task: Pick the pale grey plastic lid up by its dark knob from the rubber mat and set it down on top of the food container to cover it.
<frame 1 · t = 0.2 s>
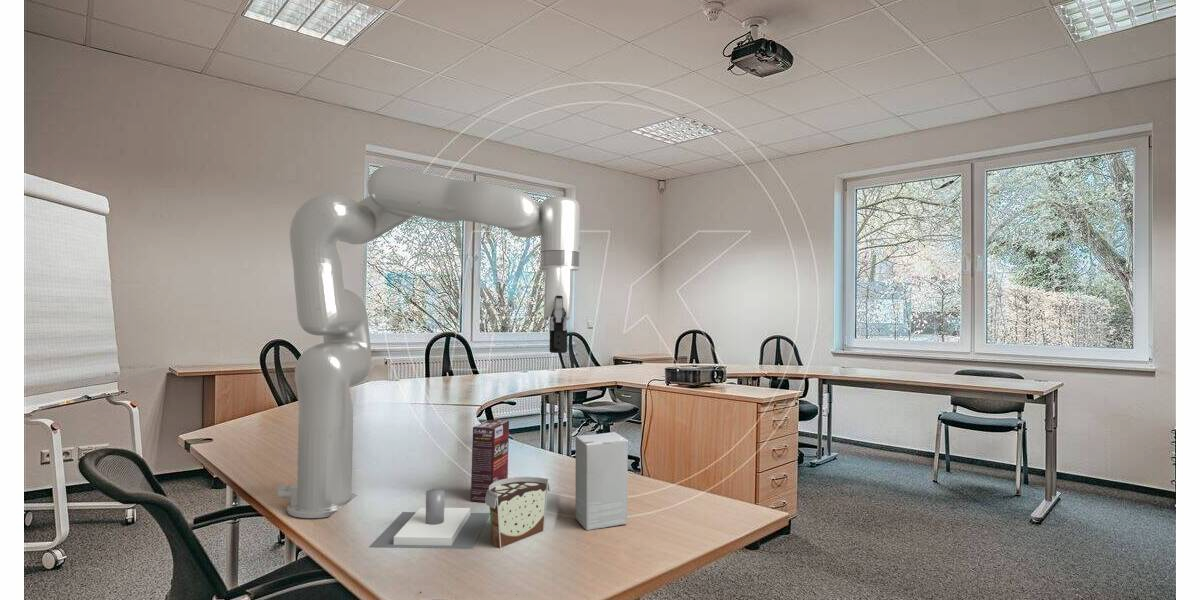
hand: (558, 350, 114), 31 cm above the table, tool pointing down, fingers open, 9 cm apart
mat: (434, 537, 99), on the table
food container: (509, 544, 97), on the table
lid: (434, 528, 99), point 1 cm above the table, touching mat
skincare box: (600, 524, 107), on the table
supplement box: (489, 504, 117), on the table
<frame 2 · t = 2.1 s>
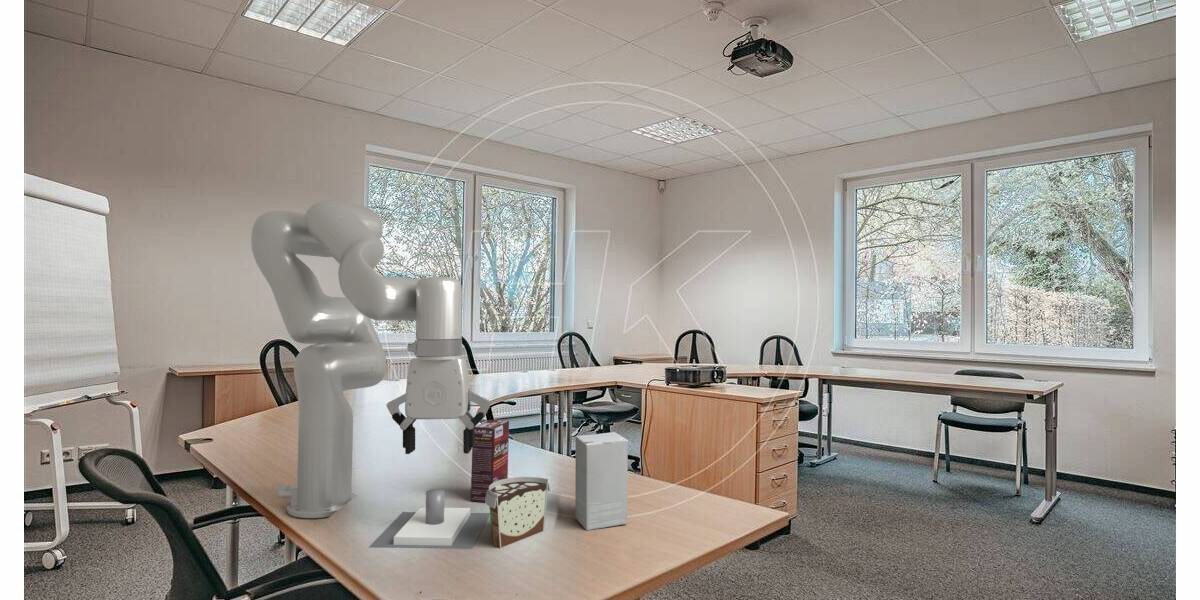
hand: (439, 452, 99), 14 cm above the table, tool pointing down, fingers open, 9 cm apart
nothing on the table moved.
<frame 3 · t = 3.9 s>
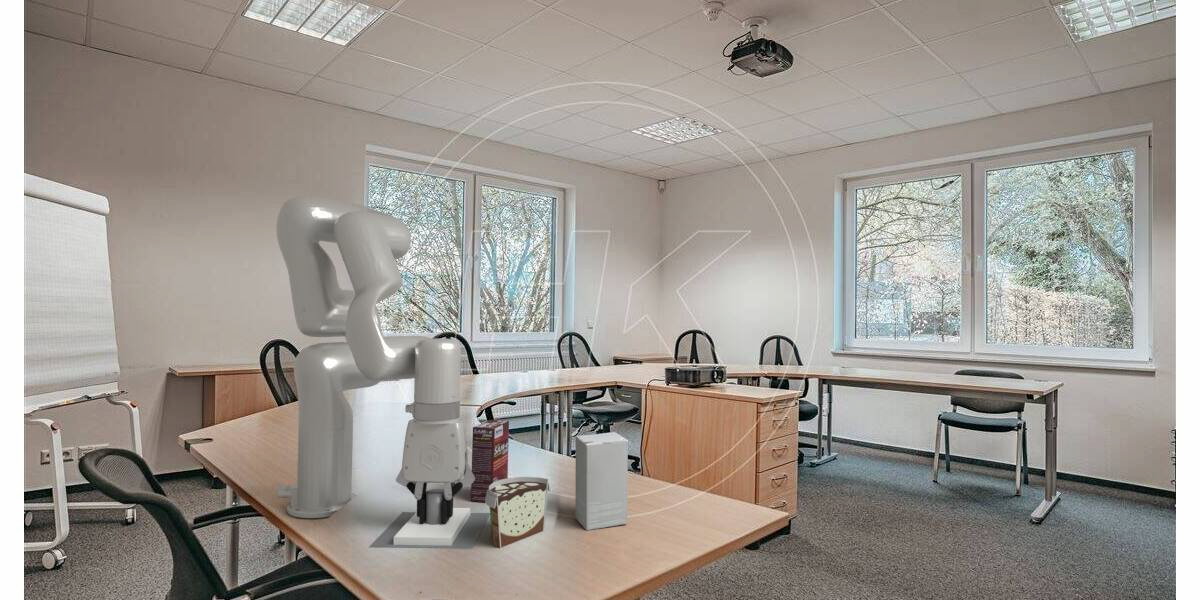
hand: (434, 520, 99), 3 cm above the table, tool pointing down, fingers closed on lid, 3 cm apart
lid: (434, 528, 99), point 1 cm above the table, touching gripper, mat
everything else where it was.
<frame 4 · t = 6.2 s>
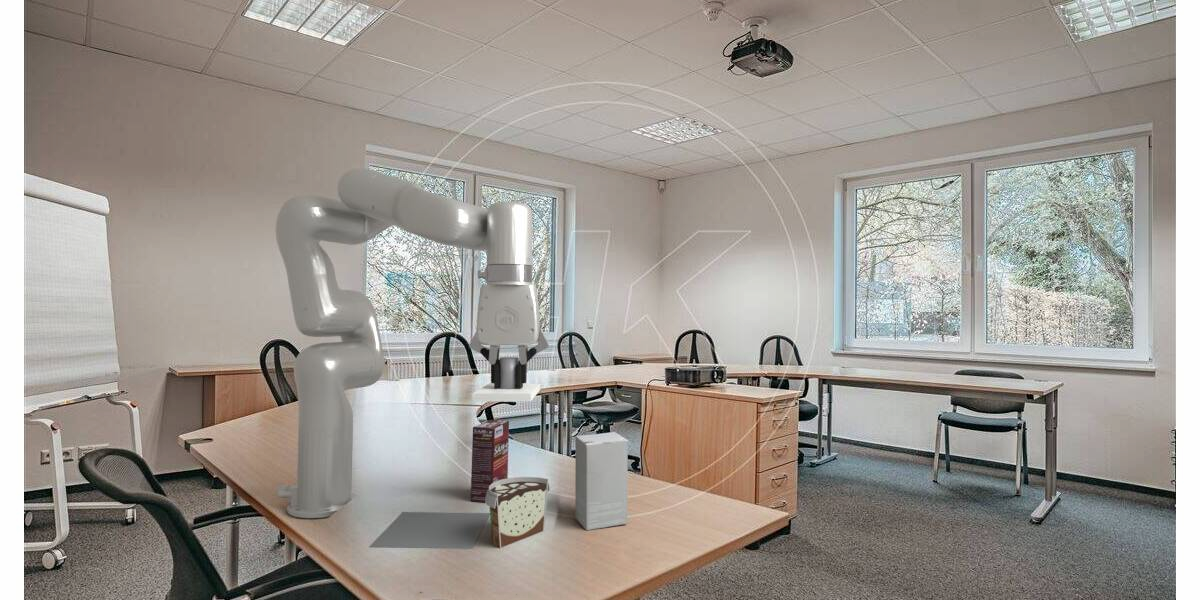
hand: (508, 386, 98), 26 cm above the table, tool pointing down, fingers closed on lid, 3 cm apart
lid: (508, 395, 98), point 24 cm above the table, touching gripper
everything else where it was.
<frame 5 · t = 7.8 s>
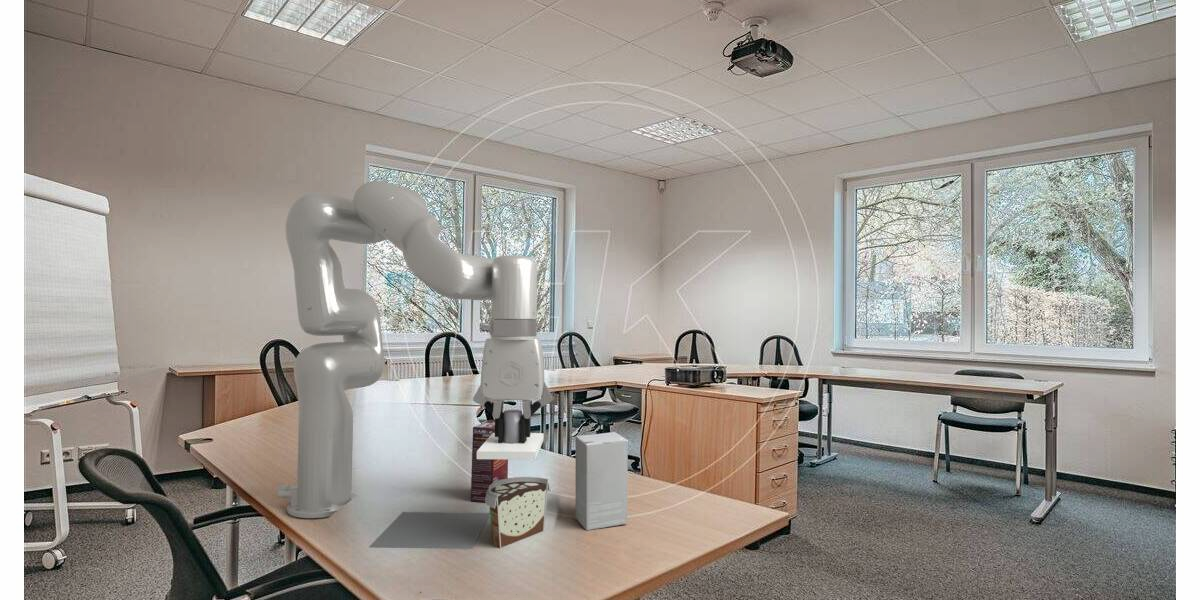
hand: (512, 440, 98), 17 cm above the table, tool pointing down, fingers closed on lid, 3 cm apart
lid: (512, 448, 97), point 16 cm above the table, touching gripper
everything else where it was.
when the fingers open (13 cm above the table, at t = 8.8 s): lid drops 1 cm, resting on food container.
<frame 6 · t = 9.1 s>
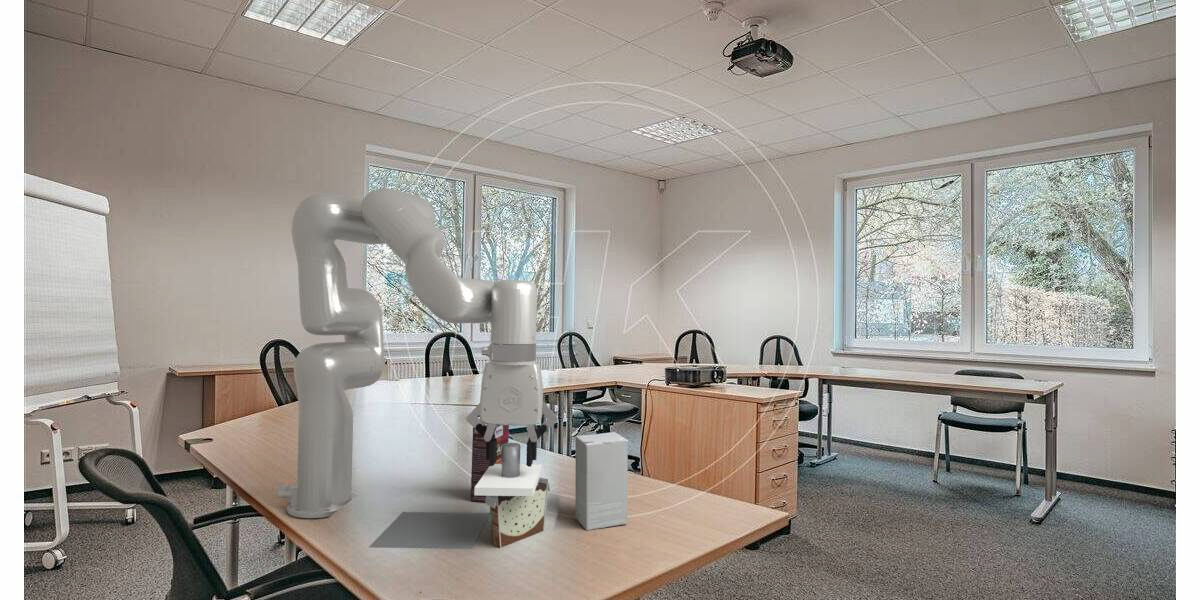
hand: (511, 463, 98), 13 cm above the table, tool pointing down, fingers open, 5 cm apart
food container: (510, 544, 97), on the table, touching lid
lid: (510, 482, 98), point 10 cm above the table, touching food container
everything else where it was.
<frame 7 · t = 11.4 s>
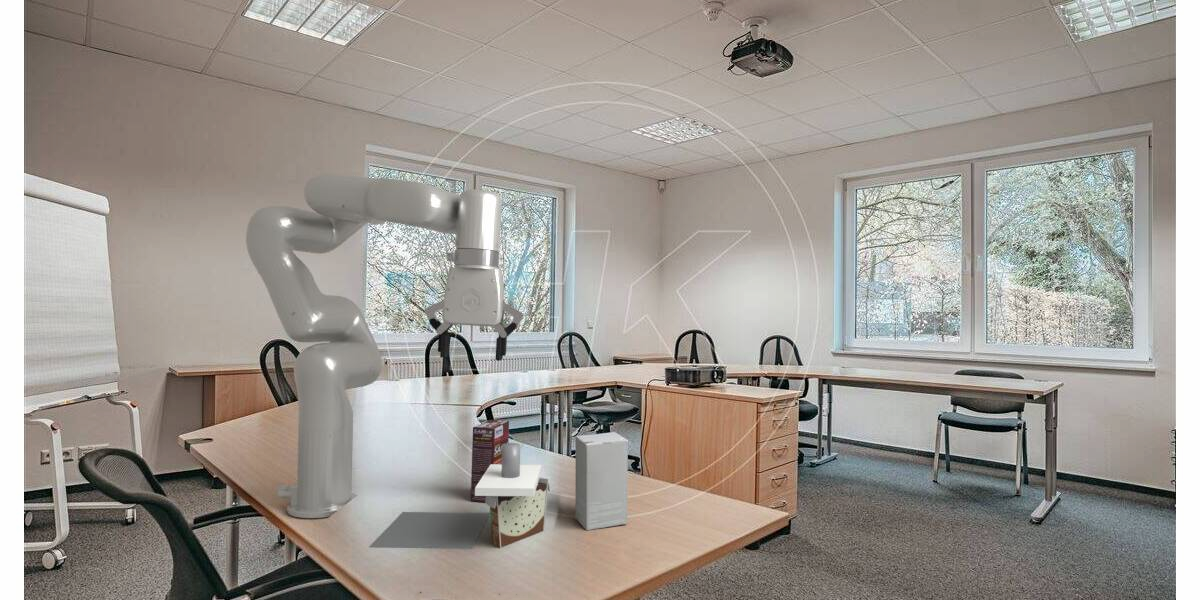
hand: (471, 358, 104), 30 cm above the table, tool pointing down, fingers open, 9 cm apart
nothing on the table moved.
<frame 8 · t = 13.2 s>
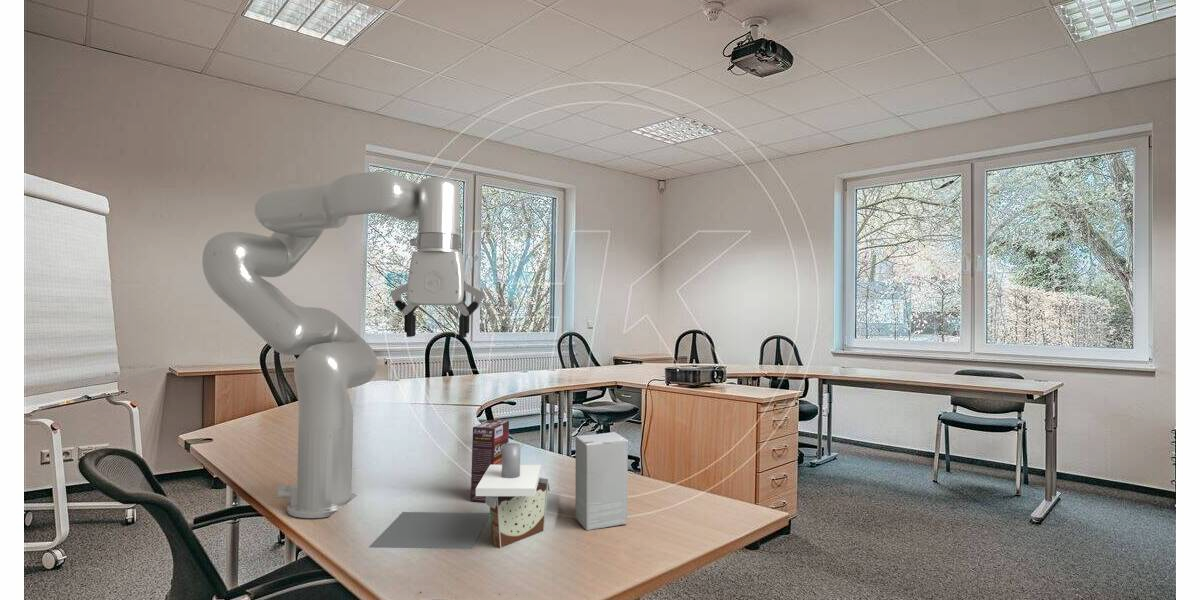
hand: (436, 336, 110), 33 cm above the table, tool pointing down, fingers open, 9 cm apart
nothing on the table moved.
at the end: lid inside the target area on the food container (0.1 cm from its centre), point 10.2 cm above the food container's base; lid touching food container; the gripper is holding nothing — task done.
